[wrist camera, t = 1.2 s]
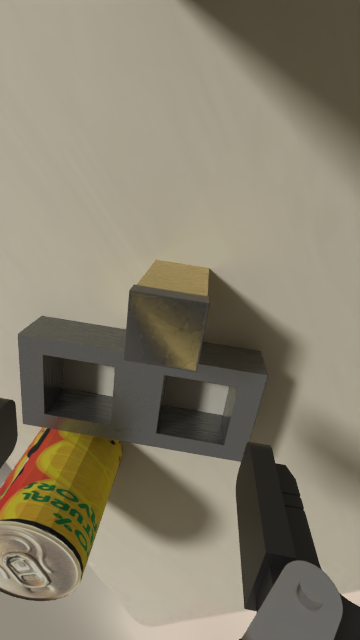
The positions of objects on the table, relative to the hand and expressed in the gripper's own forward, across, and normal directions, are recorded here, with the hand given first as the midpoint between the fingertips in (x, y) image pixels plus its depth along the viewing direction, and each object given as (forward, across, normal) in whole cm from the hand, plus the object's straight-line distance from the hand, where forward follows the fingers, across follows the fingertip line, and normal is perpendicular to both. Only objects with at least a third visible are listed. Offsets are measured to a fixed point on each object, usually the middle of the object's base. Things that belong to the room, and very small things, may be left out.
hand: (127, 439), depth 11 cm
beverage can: (+18, +8, +19) cm, 28 cm away
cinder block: (+18, +2, +9) cm, 20 cm away
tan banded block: (+18, 0, 0) cm, 18 cm away
